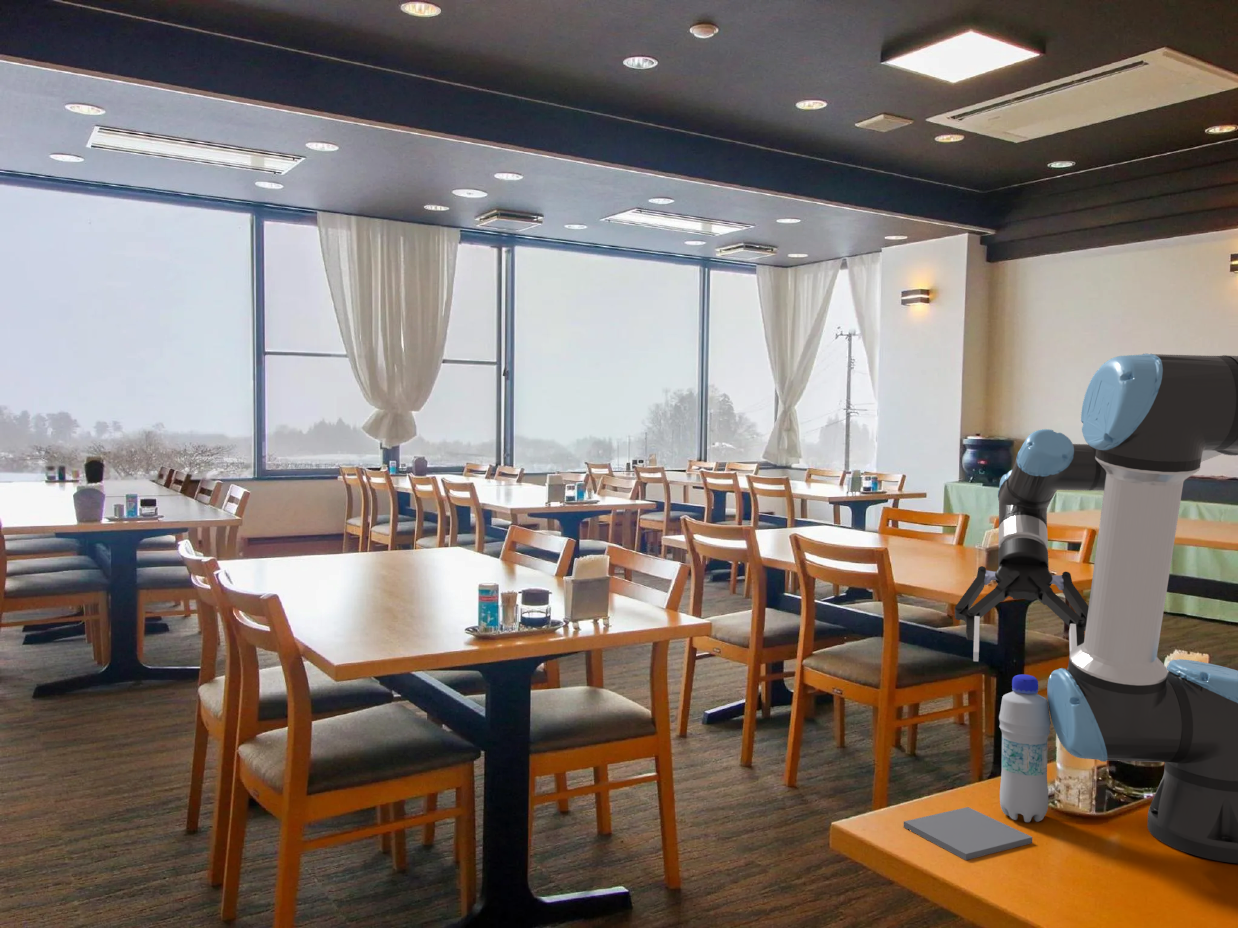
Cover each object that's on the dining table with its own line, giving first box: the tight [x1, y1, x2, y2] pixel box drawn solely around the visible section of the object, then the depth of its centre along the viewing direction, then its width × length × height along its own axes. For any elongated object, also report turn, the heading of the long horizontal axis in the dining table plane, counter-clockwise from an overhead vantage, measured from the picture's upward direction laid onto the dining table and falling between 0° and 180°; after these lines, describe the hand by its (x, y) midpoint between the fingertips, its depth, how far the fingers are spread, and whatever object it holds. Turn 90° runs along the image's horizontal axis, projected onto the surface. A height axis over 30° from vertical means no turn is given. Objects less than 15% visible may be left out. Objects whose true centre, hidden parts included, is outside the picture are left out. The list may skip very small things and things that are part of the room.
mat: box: [903, 806, 1033, 861], centre depth 130 cm, size 11×12×1 cm
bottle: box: [998, 674, 1052, 823], centre depth 136 cm, size 7×7×20 cm
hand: (1024, 661), depth 145 cm, fingers open, 13 cm apart
